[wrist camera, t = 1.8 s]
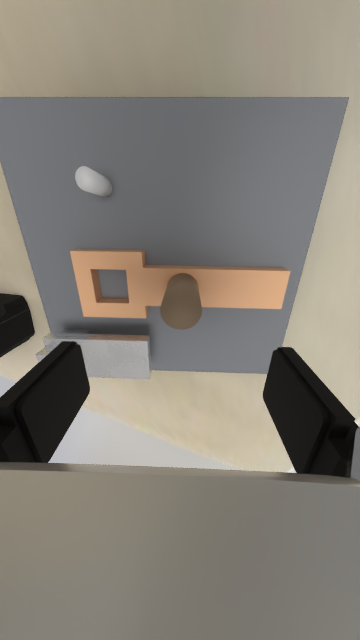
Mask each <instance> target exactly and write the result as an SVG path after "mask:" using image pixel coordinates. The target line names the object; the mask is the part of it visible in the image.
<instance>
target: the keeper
mask: <svg viewBox="0 0 360 640" xmlns="http://www.w3.org/2000/svg"><path fill="white" fill-rule="evenodd" d="M43 341H44V344H45V347H44V348H43V349H42V350H41V351H39V352H38V353H37V354H36V357H37V360H38V362H40V361H41V360H42V359H43V358H44V357H45V356H47V355H48V354H49V353H50V352H51V351H52V350H53V349H54V348H55V347H56V346H58V345H59V344H60V343H61V342H62V341H75V342H77V344H79V345H80V346H81V349H82V354H83V358H84V363H85V368H86V372H87V377H102V378H132V379H150V376H151V356H150V338H149V336H145V335H110V334H90V330H86V329H65V330H64V331H63V332H61V333H49V334H48V335H46V336H45V337H44V338H43Z"/></svg>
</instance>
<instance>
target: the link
mask: <svg viewBox="0 0 360 640" xmlns="http://www.w3.org/2000/svg"><path fill="white" fill-rule="evenodd" d="M70 254H71V259H72V264H73V268H74V273H75V278H76V283H77V287H78V292H79V297H80V302H81V307H82V311H83V316H84V317H114V318H146V317H147V315H148V306H161V307H160V314H161V317H162V319H163V321H164V322H165V323H166V324H167V325H168V326H170V327H172V328H174V329H178V330H184V329H189V328H191V327H193V326H194V325H196V324H197V323H198V321H199V320H200V318H201V315H202V307H217V308H258V309H281V308H282V304H283V300H284V296H285V292H286V288H287V284H288V280H289V276H290V272H291V271H289V270H287V269H285V268H264V267H214V266H164V265H146V261H145V250H101V249H76V250H72V251H70ZM97 269H113V270H126V275H127V285H128V295H129V299H128V298H102V296H101V290H100V283H99V277H98V271H97Z"/></svg>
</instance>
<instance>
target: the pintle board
mask: <svg viewBox="0 0 360 640" xmlns="http://www.w3.org/2000/svg"><path fill="white" fill-rule="evenodd" d="M348 100H349V97H0V162H1V165H2V168H3V172H4V175H5V179H6V182H7V185H8V189H9V192H10V196H11V199H12V202H13V206H14V209H15V213H16V216H17V219H18V223H19V226H20V229H21V233H22V236H23V240H24V243H25V246H26V250H27V253H28V257H29V260H30V263H31V267H32V270H33V273H34V277H35V280H36V284H37V287H38V290H39V294H40V297H41V301H42V304H43V307H44V311H45V314H46V318H47V321H48V324H49V328H50V331H51V333H61V332H63V331H64V330H65V329H86V330H90V334H110V335H145V336H149V338H150V356H151V370H165V371H196V372H227V373H258V374H268V370H269V366H270V362H271V357H272V353H273V351H274V350H277V348H278V347H282V344H283V340H284V337H285V333H286V329H287V326H288V322H289V318H290V314H291V311H292V307H293V303H294V300H295V296H296V292H297V288H298V285H299V281H300V277H301V274H302V270H303V266H304V263H305V259H306V255H307V251H308V248H309V244H310V240H311V237H312V233H313V229H314V226H315V222H316V218H317V214H318V211H319V207H320V203H321V200H322V196H323V192H324V188H325V185H326V181H327V177H328V174H329V170H330V166H331V163H332V159H333V155H334V151H335V148H336V144H337V140H338V137H339V133H340V129H341V125H342V122H343V118H344V114H345V111H346V107H347V103H348ZM76 249H101V250H145V261H146V265H164V266H214V267H264V268H285V269H287V270H289V271H291V272H290V276H289V280H288V284H287V288H286V292H285V296H284V300H283V304H282V308H281V309H258V308H217V307H202V315H201V318H200V320H199V321H198V323H197V324H196V325H194V326H193V327H191V328H189V329H184V330H178V329H174V328H172V327H170V326H168V325H167V324H166V323H165V322H164V321H163V319H162V317H161V314H160V307H161V306H148V315H147V317H146V318H114V317H84V316H83V311H82V307H81V302H80V297H79V292H78V287H77V283H76V278H75V273H74V268H73V264H72V259H71V254H70V251H72V250H76ZM97 271H98V277H99V283H100V290H101V296H102V298H128V299H129V295H128V285H127V275H126V270H113V269H97Z"/></svg>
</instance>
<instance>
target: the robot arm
mask: <svg viewBox="0 0 360 640" xmlns="http://www.w3.org/2000/svg"><path fill="white" fill-rule="evenodd" d="M89 391H90V386H89V381H88V377H87V372H86V368H85V363H84V358H83V354H82V349H81V346H80V345H79V344H77V342H75V341H62V342H61V343H60V344H59V345H58V346H56V347H55V348H54V349H53V350H52V351H51V352H50V353H49V354H48V355H47V356H45V357H44V358H43V359H42V360H41V361H40V362H39V363H38V364H37V365H36V366H34V367H33V368H32V369H31V370H30V371H29V372H28V373H27V374H26V375H25V376H23V377H22V378H21V379H20V380H19V381H18V382H17V383H16V384H15V385H14V386H12V387H11V388H10V389H9V390H8V391H7V392H6V393H5V394H4V395H3V396H1V397H0V640H360V427H358V425H357V424H356V423H355V422H354V421H355V418H354V417H353V416H352V415H351V414H350V413H349V411H348V410H347V409H346V408H345V407H344V406H343V405H342V404H341V402H340V401H339V400H338V399H337V398H336V397H335V396H334V394H333V393H332V392H331V391H330V390H329V389H328V388H327V387H326V385H325V384H324V383H323V382H322V381H321V380H320V379H319V378H318V376H317V375H316V374H315V373H314V372H313V371H312V370H311V368H310V367H309V366H308V365H307V364H306V363H305V362H304V361H303V359H302V358H301V357H300V356H299V355H298V354H297V353H296V352H295V350H294V349H293V348H291V347H278V348H277V350H274V351H273V353H272V357H271V362H270V366H269V370H268V374H267V378H266V383H265V387H264V391H263V399H264V402H265V404H266V406H267V408H268V411H269V413H270V415H271V417H272V420H273V422H274V424H275V426H276V429H277V431H278V433H279V435H280V437H281V440H282V442H283V444H284V446H285V449H286V451H287V453H288V455H289V457H290V460H291V462H292V464H293V466H294V469H295V471H296V472H297V473H283V472H263V471H241V470H218V469H197V468H171V467H170V468H169V467H148V466H122V465H93V464H63V463H48V462H49V460H50V459H51V457H52V456H53V454H54V452H55V450H56V449H57V447H58V445H59V443H60V442H61V440H62V439H63V437H64V435H65V433H66V432H67V430H68V428H69V427H70V425H71V423H72V422H73V420H74V418H75V417H76V415H77V413H78V411H79V410H80V408H81V406H82V405H83V403H84V401H85V400H86V398H87V396H88V394H89Z"/></svg>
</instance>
